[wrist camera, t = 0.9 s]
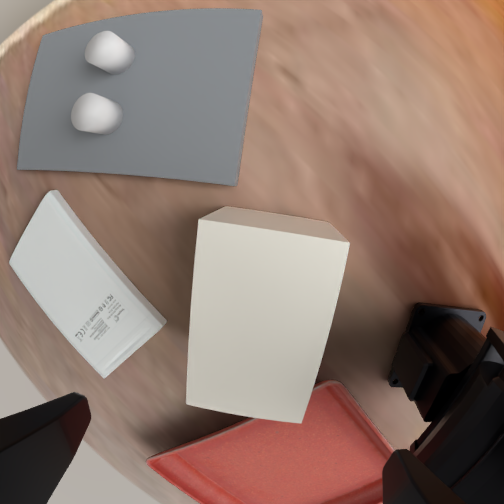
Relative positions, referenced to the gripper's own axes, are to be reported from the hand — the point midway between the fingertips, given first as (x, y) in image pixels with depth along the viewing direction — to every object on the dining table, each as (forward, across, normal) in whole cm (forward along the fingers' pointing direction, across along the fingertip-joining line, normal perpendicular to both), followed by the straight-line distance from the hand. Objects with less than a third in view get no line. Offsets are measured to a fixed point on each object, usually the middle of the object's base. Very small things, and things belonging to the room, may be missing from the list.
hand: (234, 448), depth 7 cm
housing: (+12, 0, 0) cm, 12 cm away
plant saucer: (+13, -5, +16) cm, 21 cm away
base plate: (+12, +11, -12) cm, 20 cm away
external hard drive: (+13, +14, +2) cm, 19 cm away
